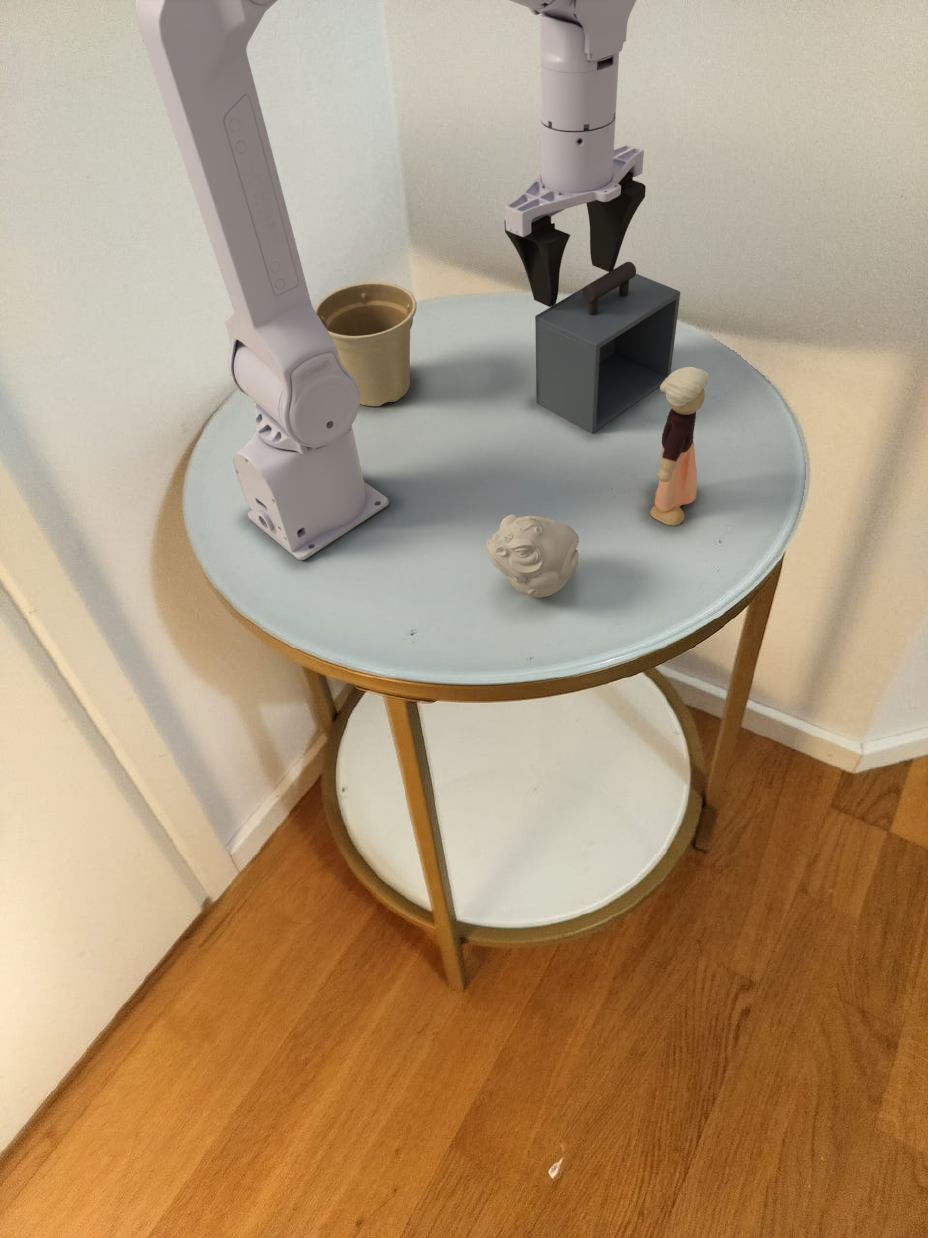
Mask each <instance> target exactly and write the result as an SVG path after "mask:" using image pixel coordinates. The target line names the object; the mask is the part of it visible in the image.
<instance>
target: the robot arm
mask: <svg viewBox="0 0 928 1238" xmlns="http://www.w3.org/2000/svg"><path fill="white" fill-rule="evenodd" d="M277 1H278V0H135V15H136V20H137V24H138V29H139V32H140V36H141V38H142V42H143V45H144V47H145V50H146V53H147V57H148V58H149V62H150V65H151V68H152V71H153V75H154V77H155V81H156V83H157V87H158V89H159V92H160V95H161V99H162V101H163V104H164V108H165V111H166V113H167V116H168V118H169V122H170V125H171V127H172V131H173V133H174V137H175V139H176V143H177V145H178V149H179V151H180V154H181V158H182V160H183V164H184V167H185V169H186V172H187V175H188V179H189V182H190V184H191V187H192V190H193V193H194V196H195V199H196V202H197V205H198V208H199V211H200V214H201V218H202V221H203V224H204V225H205V229H206V232H207V235H208V238H209V241H210V244H211V247H212V250H213V252H214V256H215V258H216V262H217V264H218V268H219V271H220V274H221V277H222V279H223V283H224V285H225V289H226V292H227V294H228V298H229V301H230V303H231V305H232V306H231V307H232V309H233V311H232V312H231V313H230V314H229V316H227V317H226V319H225V321H224V324H225V328H226V331H227V334H228V338H229V353H228V360H227V361H228V362H227V363H228V364H227V365H228V366H227V367H228V373H229V376H230V378H231V381H232V383H233V384H234V386H235V387H236V388H237V389H238V390H239V391H240V392H241V393H243V394H245V395H246V396H248V397H249V398H250V399H252V401H253V404H254V409H255V410H254V420H255V427H256V430H255V432H254V434H253V435H252V437H251V438H250V439H249V441H248V442H247V443H246V444H245V445H243V446H242V447H241V448H240V449H239V450H238V451H237V452H235V454H234V455H233V459H232V460H233V467H234V470H235V474H236V476H237V478H238V479H237V480H238V482H239V484H240V488H241V490H242V493H243V495H244V499H245V501H246V504H247V507H248V510H249V511H248V512H247V516H248V518H249V520H251V522H252V523H254V524H255V525H256V526H257V527H259V528H260V529H261V530H262V531H264V533H266V534H267V535H268V536H270V537H271V538H272V539H273V540H274V541H275V542H276V543H277V544H279V545H280V546H282V547H283V549H285V550H286V551H287V552H289V554H291V555H292V557H294V558H295V559H297V560H299V561H304V560H306V559H308V558H310V557H311V556H313V555H314V554H316V553H317V552H319V551H320V550H322V549H323V548H325V547H326V546H328V545H330V544H331V543H332V542H334V541H336V540H338V538H340V537H342V536H343V535H345V534H346V533H349V531H351V530H352V529H354V528H356V527H357V526H358V525H360V524H362V523H363V522H365V521H366V520H368V519H369V518H370V517H371V518H372V516H374V515H375V514H377V513H378V512H380V511H381V510H383V509H384V508H386V507H387V506H389V504H390V502H389V498H388V497H387V496H385V495H383V494H382V493H381V492H379V491H378V490H377V489H375V488H374V487H373V486H371V485H370V484H368V483H367V482H365V480H364V476H363V471H362V466H361V461H360V457H359V451H358V447H357V443H356V438H355V434H354V429H353V424H354V422H355V420H356V418H357V416H358V413H359V410H360V406H361V404H360V390H359V386H358V384H357V381H356V380H355V378H354V377H353V375H352V374H351V373H350V372H349V371H347V370H346V369H345V367H344V366H343V365H342V363H341V361H340V358H339V354H338V350H337V346H336V344H335V342H334V341H333V339H332V337H331V336H330V334H329V332H328V331H327V329H326V328H325V326H324V325H323V323H322V321H321V320H320V318H319V317H318V315H317V314H316V312H315V308H314V306H313V304H312V300H311V297H310V292H309V290H308V285H307V282H306V277H305V274H304V270H303V265H302V261H301V259H300V254H299V251H298V247H297V242H296V239H295V235H294V231H293V227H292V223H291V219H290V216H289V212H288V208H287V204H286V200H285V195H284V193H283V188H282V185H281V181H280V177H279V172H278V168H277V165H276V162H275V157H274V154H273V150H272V146H271V142H270V138H269V134H268V131H267V125H266V122H265V119H264V115H263V111H262V108H261V104H260V100H259V96H258V92H257V88H256V84H255V79H254V76H253V71H252V68H251V65H250V60H249V56H248V52H247V51H248V50H247V49H248V44H249V42H250V40H251V39H252V37H253V35H254V33H255V31H256V30H257V28H258V26H259V24H260V22H261V21H262V19H263V17H264V15H265V14H266V12H267V11H268V10H269V9H271V8H272V6H274V5H275V3H277ZM509 1H510V2H513V3H515V4H518V5H520V6H523V7H526V8H528V10H529V11H530V12H531V13H532V14H533V15H534V16H539V20H540V21H539V32H540V33H539V36H540V37H539V38H540V39H539V42H540V43H539V44H540V175H539V176H538V177H536V179H534V181H532V183H531V184H529V186H528V187H527V188H526V189H525V190H524V191H523V192H522V193H521V194H520V195H519V196H518V197H516V199H515V200H513V201H511V202H509V204H506V205H505V206H504V217H505V219H504V220H503V222H504V232H505V234H506V236H507V237H508V239H509V240H510V242H511V243H512V245H513V247H514V249H516V252H517V254H518V256H519V258H520V260H521V263H522V265H523V267H524V270H525V273H526V277H527V279H528V283H529V286H530V290H531V293H532V297H533V300H534V301H535V302H537V303H540V304H541V305H544V306H546V307H548V308H550V307H552V306H553V305H555V304H557V301H558V296H559V288H560V286H559V285H560V272H561V265H562V260H563V256H564V252H565V250H566V246H567V244H568V241H569V240H570V237H571V234H569V233H567V232H565V231H562V230H560V229H557V228H556V223H555V222H553V223H552V217H553V216H555V215H557V214H560V213H561V212H564V211H565V210H567V209H569V208H573V207H577V206H581V205H584V204H586V208H587V214H588V223H589V251H590V252H589V254H590V261H591V265H592V266H593V267H595V268H598V269H599V270H602V271H605V272H607V273H609V272H610V271H612V270H614V269H615V268H616V264H617V261H618V257H619V254H620V251H621V248H622V246H623V245H622V244H623V242H624V239H625V236H626V233H627V231H628V228H629V227H630V223H631V221H633V220H632V219H633V218H634V216H635V214H636V212H637V211H638V208H639V207H640V205H641V204H642V202H643V201H644V199H645V198H646V190H647V186H646V185H645V184H644V183H642V182H641V181H637V180H634V178H636V177H638V176H640V175H642V174H643V170H644V169H643V168H644V155H645V150H644V149H643V148H640V147H635V146H632V145H629V144H624V145H622V146H619V147H617V148H615V137H616V136H615V135H616V118H617V117H616V116H617V100H618V99H617V98H618V81H619V80H618V79H619V78H618V77H619V64H620V63H619V60H620V53H621V52H622V50H623V49H624V44H625V42H626V41H627V31H628V23H629V18H630V16H631V13H632V10H633V9H634V7H635V4H636V3H637V0H509Z"/></svg>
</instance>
